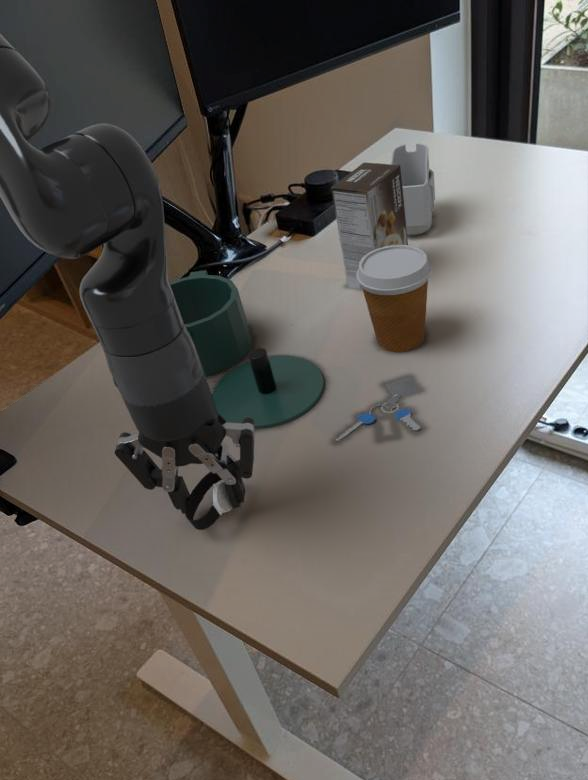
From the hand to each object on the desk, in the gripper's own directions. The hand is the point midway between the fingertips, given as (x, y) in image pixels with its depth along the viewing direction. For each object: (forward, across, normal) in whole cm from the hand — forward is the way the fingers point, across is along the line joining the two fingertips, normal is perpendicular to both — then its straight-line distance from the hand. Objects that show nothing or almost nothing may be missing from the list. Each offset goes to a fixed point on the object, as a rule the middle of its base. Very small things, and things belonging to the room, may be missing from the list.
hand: (212, 504), depth 73 cm
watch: (+1, 0, 0) cm, 1 cm away
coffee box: (+2, -20, -47) cm, 51 cm away
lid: (+2, -4, -21) cm, 22 cm away
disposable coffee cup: (+2, -22, -29) cm, 37 cm away
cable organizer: (+2, -27, -62) cm, 68 cm away
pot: (+2, +6, -33) cm, 34 cm away
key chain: (+2, -20, -13) cm, 24 cm away
